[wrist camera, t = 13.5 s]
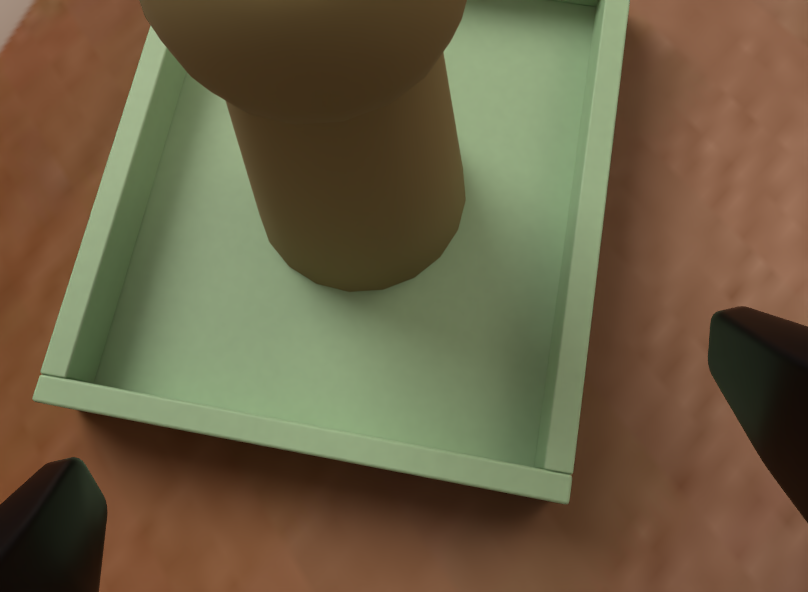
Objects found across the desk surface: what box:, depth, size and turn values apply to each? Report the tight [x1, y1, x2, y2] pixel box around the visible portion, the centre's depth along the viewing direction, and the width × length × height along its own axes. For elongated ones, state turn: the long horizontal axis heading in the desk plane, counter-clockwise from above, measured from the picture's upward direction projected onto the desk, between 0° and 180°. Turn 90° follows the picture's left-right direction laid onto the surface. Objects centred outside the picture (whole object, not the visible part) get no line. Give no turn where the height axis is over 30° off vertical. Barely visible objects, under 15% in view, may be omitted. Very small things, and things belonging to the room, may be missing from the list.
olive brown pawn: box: [140, 0, 467, 292], centre depth 14 cm, size 6×6×11 cm
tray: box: [33, 0, 630, 504], centre depth 19 cm, size 15×13×2 cm
